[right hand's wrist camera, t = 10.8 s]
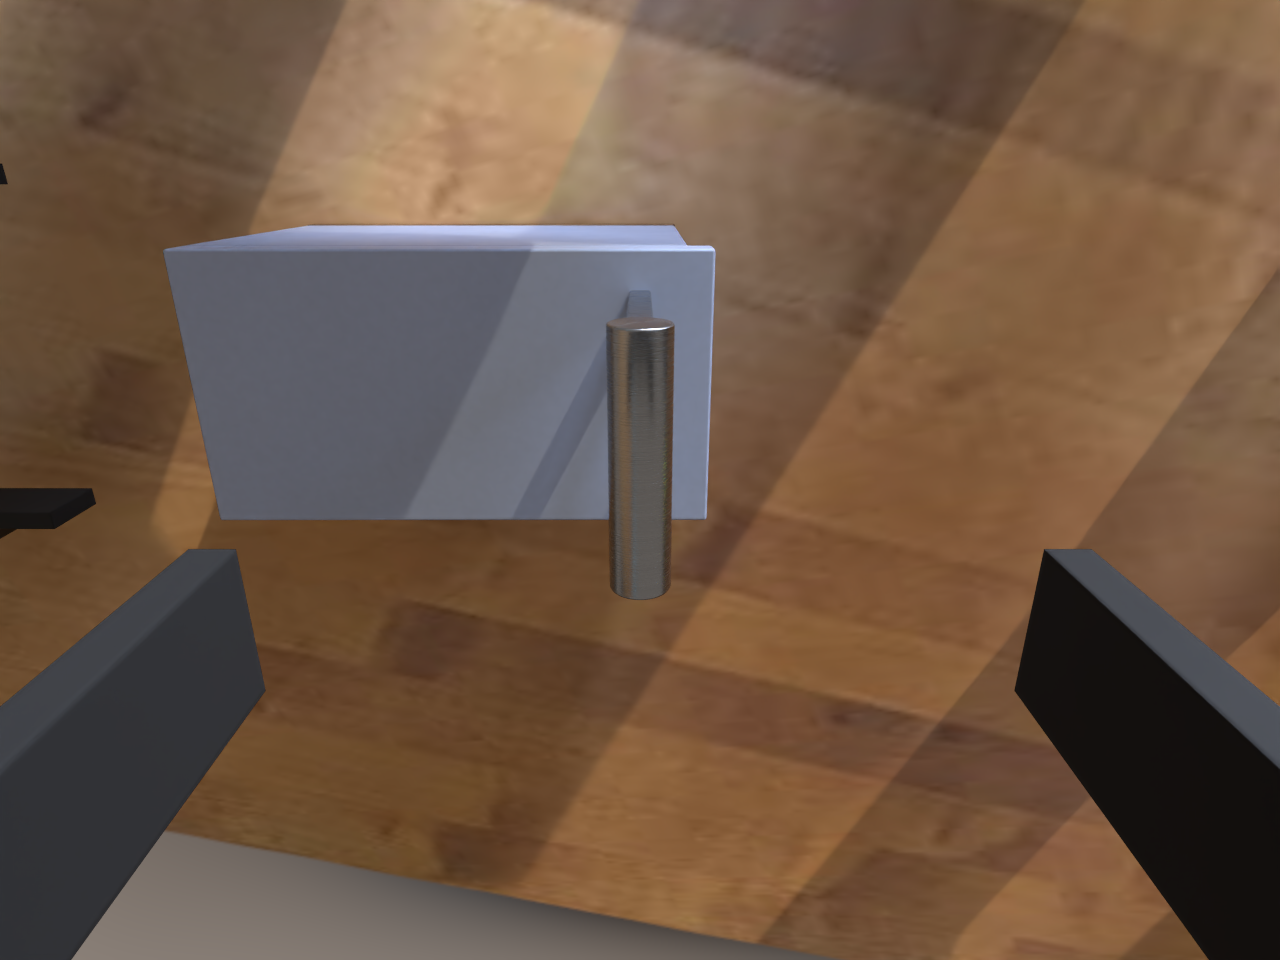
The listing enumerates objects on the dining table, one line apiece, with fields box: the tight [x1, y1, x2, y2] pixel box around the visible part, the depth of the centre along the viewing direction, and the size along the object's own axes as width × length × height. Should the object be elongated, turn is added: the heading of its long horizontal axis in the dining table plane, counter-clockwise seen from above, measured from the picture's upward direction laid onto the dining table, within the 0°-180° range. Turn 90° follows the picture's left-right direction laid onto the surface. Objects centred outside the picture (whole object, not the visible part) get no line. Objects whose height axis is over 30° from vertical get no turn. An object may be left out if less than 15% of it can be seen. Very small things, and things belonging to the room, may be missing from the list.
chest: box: [187, 224, 687, 246], centre depth 32 cm, size 16×9×11 cm, turn 90°
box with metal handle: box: [163, 246, 715, 600], centre depth 23 cm, size 17×9×9 cm, turn 90°
